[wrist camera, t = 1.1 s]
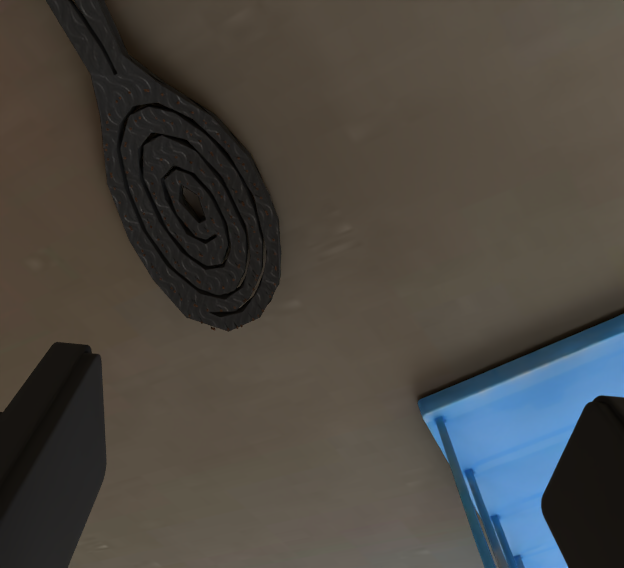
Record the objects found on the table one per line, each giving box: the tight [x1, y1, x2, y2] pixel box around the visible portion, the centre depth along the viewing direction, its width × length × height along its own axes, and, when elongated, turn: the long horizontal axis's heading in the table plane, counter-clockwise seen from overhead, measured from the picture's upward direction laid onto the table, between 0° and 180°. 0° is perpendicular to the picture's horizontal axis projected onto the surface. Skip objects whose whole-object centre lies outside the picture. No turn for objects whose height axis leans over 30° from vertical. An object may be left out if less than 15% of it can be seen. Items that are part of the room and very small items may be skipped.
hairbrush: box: [46, 0, 281, 331], centre depth 26 cm, size 8×4×25 cm
